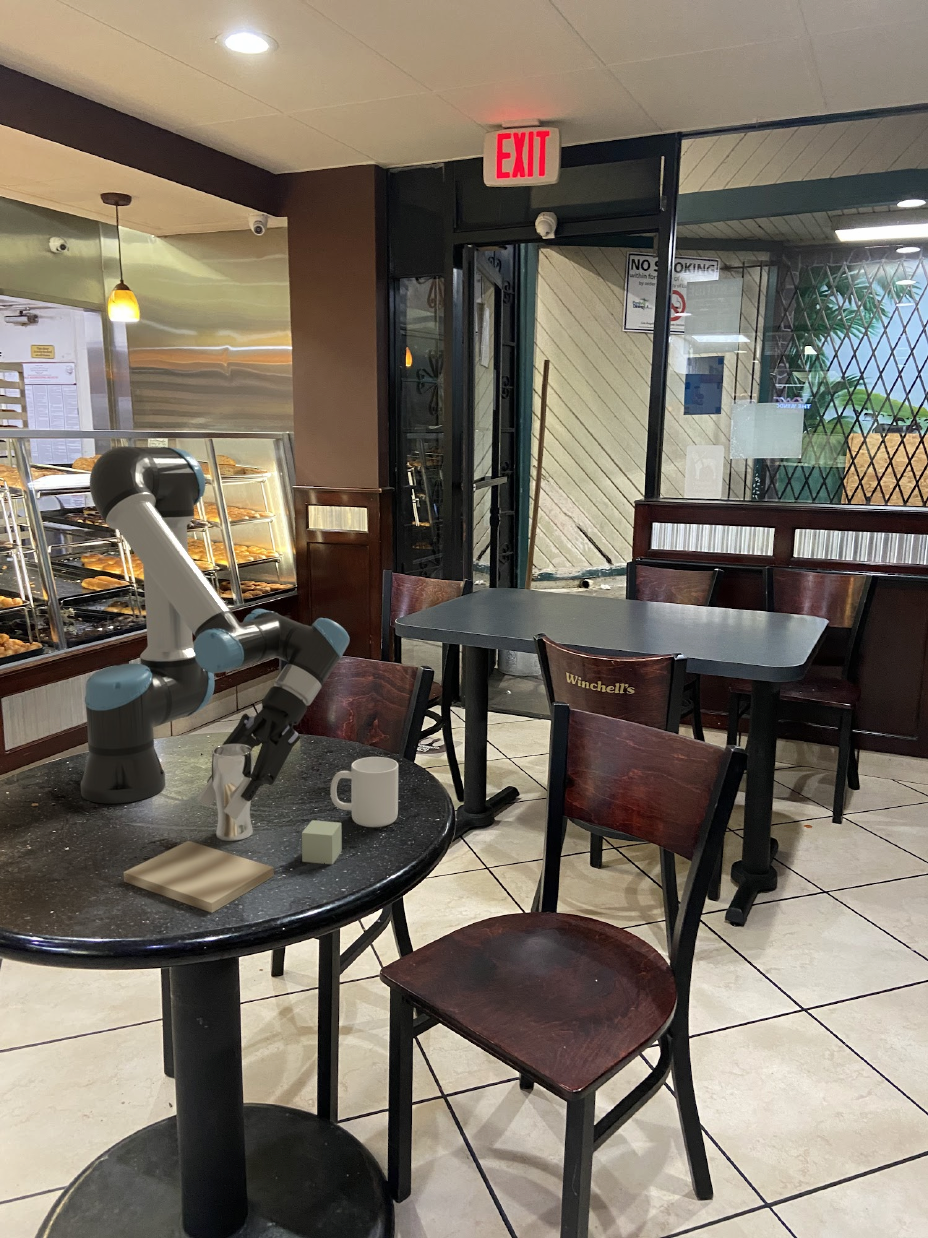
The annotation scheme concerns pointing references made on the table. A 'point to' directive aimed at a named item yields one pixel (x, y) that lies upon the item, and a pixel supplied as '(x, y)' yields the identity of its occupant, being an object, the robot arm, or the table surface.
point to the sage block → (321, 842)
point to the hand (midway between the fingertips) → (216, 809)
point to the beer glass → (231, 788)
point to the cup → (370, 791)
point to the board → (199, 875)
